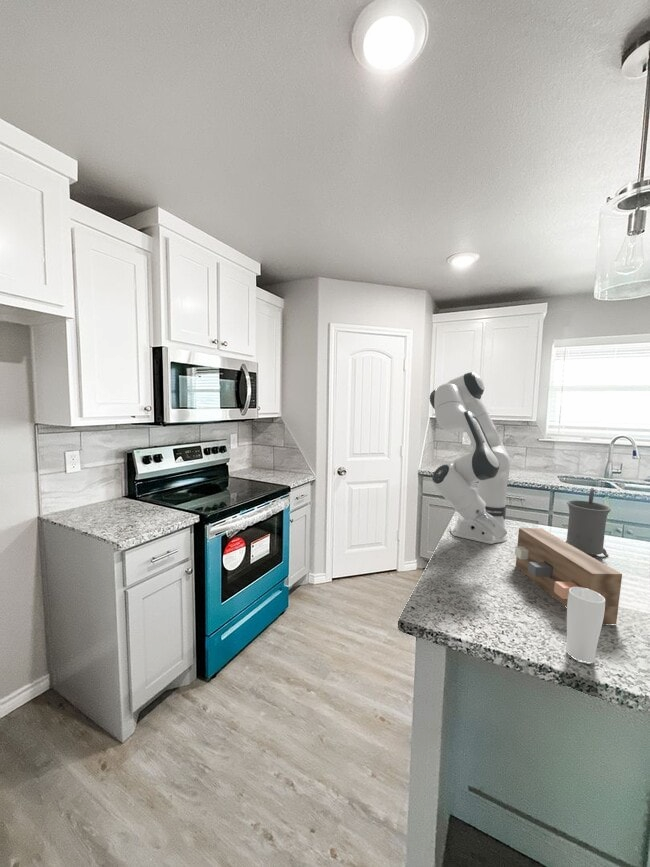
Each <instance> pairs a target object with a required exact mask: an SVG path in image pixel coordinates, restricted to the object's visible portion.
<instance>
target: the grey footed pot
mask: <svg viewBox="0 0 650 867" xmlns="http://www.w3.org/2000/svg"><path fill="white" fill-rule="evenodd" d="M594 495H595V488H593V487H591V488H590V489H589V495H588V501H587V500H578V499H576V500H575V499H572V500H567V501H566V504H567V506H568V513H569V514H568V521H567V522H568V523H567V534H566V540H565V542H566V543H568V544H570V545H572V546H573V547H575V548H577V549H579V550H580V551H582V552H584V553H586V554H588V555H594V556H595V555H603V556H604V557H607V558H608V557H609V554H608V553H607V550H606V549H605V548H604V544H605V533H606V524H607V518H608V514H609V513H610V512H611V511H612V509H611V507H610V506H607V505H605V504H602V503H598V502H595V501H594V498H595V496H594Z"/></svg>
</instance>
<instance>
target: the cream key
mask: <svg viewBox="0 0 650 867" xmlns="http://www.w3.org/2000/svg"><path fill="white" fill-rule="evenodd" d="M514 556H515V557H516V556H517V557H518V558H519V559H528V556H529V550H528V549H527V548H525V547H524V546H517V545H516V546H515V548H514Z"/></svg>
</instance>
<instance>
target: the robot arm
mask: <svg viewBox="0 0 650 867" xmlns="http://www.w3.org/2000/svg"><path fill="white" fill-rule="evenodd" d="M484 391H485V384H484V381H483V379H482V378H481V376H480V375H479V374H478V373H476V372H474V371H470V372H466V373H464V374H463V375H460V376H458V377H455V378H453V379H451V380H449V381H448V382H446V383H443V384H441V385H439V386H438V387H437V388H435V389H433V390H432V391H431V392H430V394H429V402H430V404H431V406H432V408H433V409H434V414H435V421H436V423H437V425H438V426H439V427H440V429H443V430H445V431H446V432H451V433H458V432H459V433H460V432H466V434H467V436H468V438H469V440H470V443H471V445H472V450H471V451H470V452H469V453H468V454H465V455H462V456H461V457H458V458H455V459H453V460H452V461H449V462H447V463H446V464H442V465H440V466H439V467H437V469H435V471H434V472H433V474H432V477H431V480H432V483H433V485H434V487H435V488H436V489H437V491H438V492H439V493H440V495H441V496H442V497H443V498H444V499H445V500H446V501H447V502H449V503H451V505H452V507H453V509H454V510H455V511H456V512H457V513H458V514H459V516H458V518H457V520H456V524H453V525H451V526H450V530H449V531H450V534H451V535H453V536H454V537H458V538H463V539H465V540H466V539H467V540H470V541H471V540H472V541H476V542H481V543H485V544H489V545H493V544H496V543H503V542H507V540H508V538H507V534H508V531H507V529H506V522H505V520H506V518H507V506H506V504H507V503H506V501H507V490H508V484H509V483H508V482H509V476H510V468H511V458H510V455H509V454H508V452H507V449H506V447H505V446H504V443H503V441H502V439H501V436H500V434H499V433H498V431H497V428H496V426H495V424H494V421H493V420H492V417H491V416H490V414H489V411H488V410H487V406H486V405H485V403H484V402H483V401H482V396H483V394H484ZM476 483H478V485H477V492H476V490H474V488H472V487H471V485H473V484H476Z"/></svg>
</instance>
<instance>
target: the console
mask: <svg viewBox="0 0 650 867" xmlns="http://www.w3.org/2000/svg"><path fill="white" fill-rule="evenodd" d="M516 546H524V547H525V548H527V549H528V550H529V556H528V559H519V558H518V557H517V556H516V555H515V557H516V559H515V568H516V569H517V570H519V571H520V570H521V571H520V572H522V574H524V575H525V576H526V575H527V576H526V577H528V578H529V579H530V580H531V581H532V580H533V581H532V582H534V583H535V584H536V585H537V584H538V585H537V586H538V587H540V588H541V587H542V588H543V589H544V590H543V589H542V588H541V589H542V590H543V591H544V592H546V591H547V592H548V593H549V594H550V595H549V594H548V593H547V592H546V593H547V594H548V595H549V596H551V597H552V596H553V597H554V598H555V599H556V600H555V599H554V598H553V597H552V598H553V599H554V600H555V601H557V600H558V601H559V602H560V603H562V604H563V605H564V606H566V607H567V599H562V598H561V597H560V596H558V595H557V594H556V593H555V592H554V586H555V582H575V583H577V584H578V585H580V586H581V587H582V588H586V589H590V590H593V591H595V592H597V593H599V594H601V595H602V596H603V597H604V598H605V612H604V619H603V624H616V625H617V622H618V620H617V619H618V614H619V604H620V596H621V588H622V587H621V585H622V580H623V579H622V578H623V573H621V572H619V571H618V570H615V569H614V568H612V567H610V566H608V565H607V564H605V563H604V562H602V561H600V560H599V559H597V558H595V557H592V556H591V555H590V554H586V553H584V552H582V551H580V550H579V549H577V548H575V547H573V546H572V545H570V544H568V543H566V540H565V541H564V540H563V539H561V538H559V537H557V536H555V535H554V534H552V533H550V532H549V531H547V530H545V529H544V528H539V527H536V528H535V527H519V528H518V536H517V545H516ZM529 562H547V563H548V564H550V565H551V566H552V567H553V573H552V577H535V576H533V575H532V574H531V573H530V572H528V566H529ZM558 601H557V602H558ZM559 602H558V603H559ZM560 603H559V604H560ZM562 604H561V605H562ZM563 605H562V606H563ZM564 606H563V607H564Z"/></svg>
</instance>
